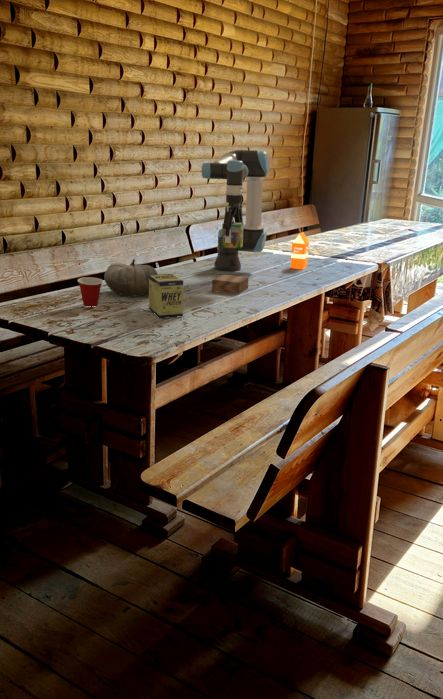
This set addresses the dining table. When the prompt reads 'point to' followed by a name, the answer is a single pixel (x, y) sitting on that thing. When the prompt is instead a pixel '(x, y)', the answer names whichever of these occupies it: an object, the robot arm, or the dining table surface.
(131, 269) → the gourd
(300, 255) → the orange juice
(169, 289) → the protein box
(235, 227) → the chalk box
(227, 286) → the walnut block
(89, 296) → the plastic cup
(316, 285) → the dining table surface
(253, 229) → the robot arm
